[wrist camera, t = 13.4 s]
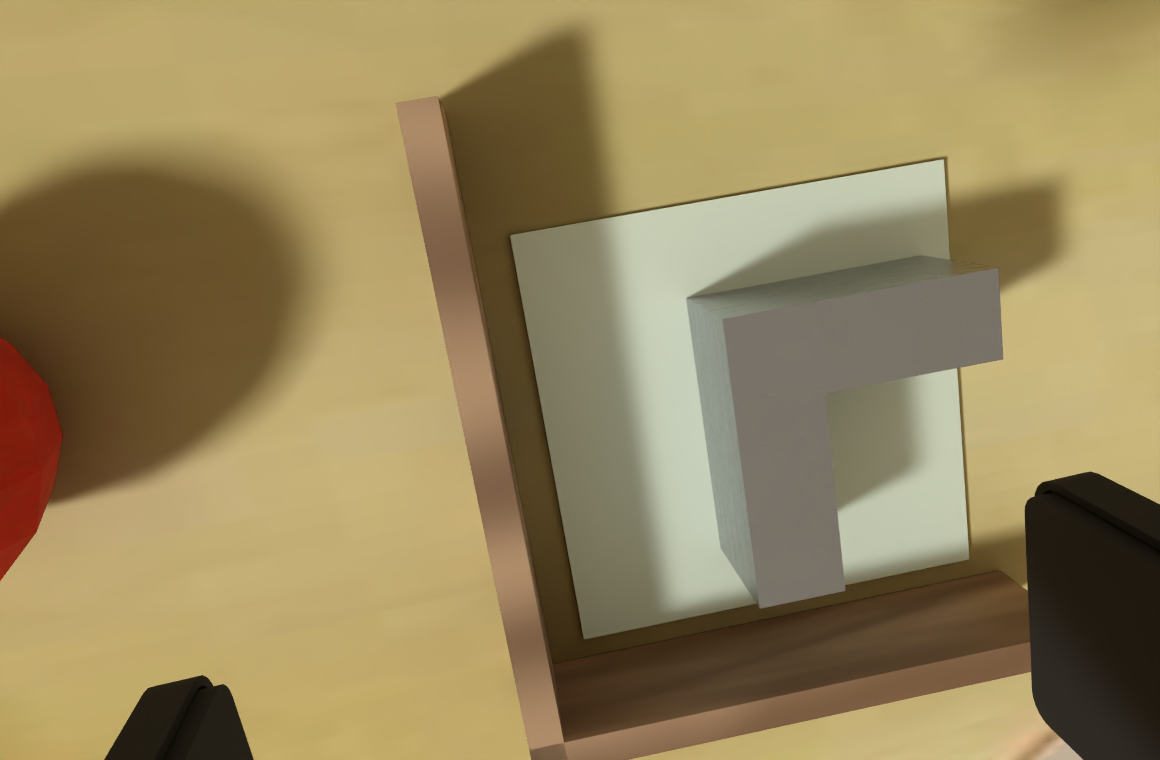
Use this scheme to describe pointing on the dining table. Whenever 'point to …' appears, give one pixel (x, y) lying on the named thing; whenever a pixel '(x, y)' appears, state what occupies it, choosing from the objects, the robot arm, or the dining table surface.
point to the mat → (672, 403)
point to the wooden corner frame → (697, 662)
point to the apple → (24, 452)
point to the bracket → (817, 396)
